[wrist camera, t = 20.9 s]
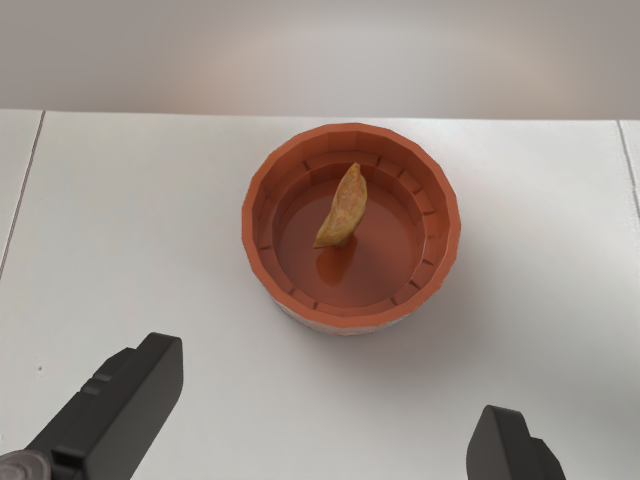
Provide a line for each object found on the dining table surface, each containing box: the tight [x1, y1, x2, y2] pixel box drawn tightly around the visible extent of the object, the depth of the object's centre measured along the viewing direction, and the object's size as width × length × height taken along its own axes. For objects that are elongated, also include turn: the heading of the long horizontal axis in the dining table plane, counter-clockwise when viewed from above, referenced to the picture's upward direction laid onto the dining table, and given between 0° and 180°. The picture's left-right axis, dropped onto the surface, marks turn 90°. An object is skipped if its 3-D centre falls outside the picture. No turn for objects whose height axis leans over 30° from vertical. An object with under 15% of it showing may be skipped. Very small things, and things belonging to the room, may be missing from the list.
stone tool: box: [313, 163, 367, 249], centre depth 30 cm, size 5×2×15 cm, turn 142°
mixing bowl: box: [242, 123, 461, 336], centre depth 34 cm, size 17×17×7 cm
